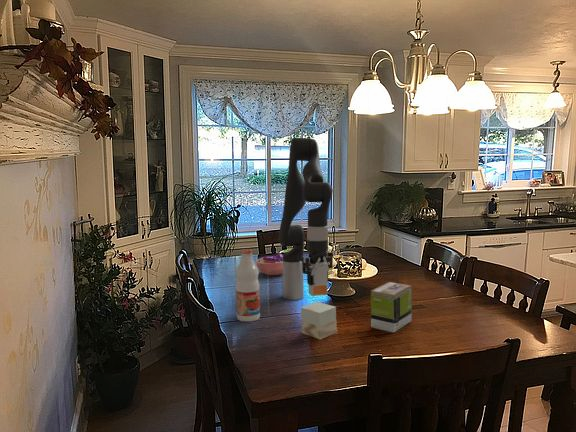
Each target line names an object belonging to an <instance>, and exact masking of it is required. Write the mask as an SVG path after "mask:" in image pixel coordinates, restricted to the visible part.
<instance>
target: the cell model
mask: <svg viewBox="0 0 576 432" xmlns="http://www.w3.org/2000/svg"><path fill="white" fill-rule="evenodd" d="M255 265H256V266H257V267H258V270H259V271H260V272H261V273H262V274H265V275H267V276H280V275H283V254H282V253H280V252H278V253H276V255H271V256H270V255H269V256H267V255H266V256H265V255H264V256H263V257H260V258H258V259H256V260H255Z"/></svg>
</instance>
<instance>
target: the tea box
mask: <svg viewBox="0 0 576 432" xmlns="http://www.w3.org/2000/svg"><path fill="white" fill-rule="evenodd" d="M412 317H413V316H412V285H409V284H404V283H397V282H391V281H388V282H386V283H384V284H382V285H380V286H378V287H376V288H374V289H372V290H371V291H370V326H371V328H373V329H376V330H382V331H385V332H389V333H396V332H397V331H399V330H400V329H402V328H404V326H406V325H408V324H409V323H411V322H412V319H413V318H412Z"/></svg>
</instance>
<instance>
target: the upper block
mask: <svg viewBox="0 0 576 432" xmlns="http://www.w3.org/2000/svg"><path fill="white" fill-rule="evenodd" d="M300 310H301V311H300V312H301V313H300V314H301V318H300V320H301V322H302V321H304V322H307V323H310V324H313V325H316V326H323V325H325V324H328V323H330V322H332V321H335V320H337V306H334V305H331V304H327V303H324V302H320V301H316V302H312V303H310V304H308V305H304V306H301V308H300Z"/></svg>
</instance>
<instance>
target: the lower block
mask: <svg viewBox="0 0 576 432" xmlns="http://www.w3.org/2000/svg"><path fill="white" fill-rule="evenodd" d="M337 328H338V325H337V319H336V320H335V321H332V322H330V323H328V324H325V325H323V326H316V325H313V324H310V323H307V322H304V321H301V333H302V334H304V335H307V336H309V337H312V338H315V339H318V340H322V339H324V338H327V337H329V336H332V335H335V334H337V332H338V331H337Z"/></svg>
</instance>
